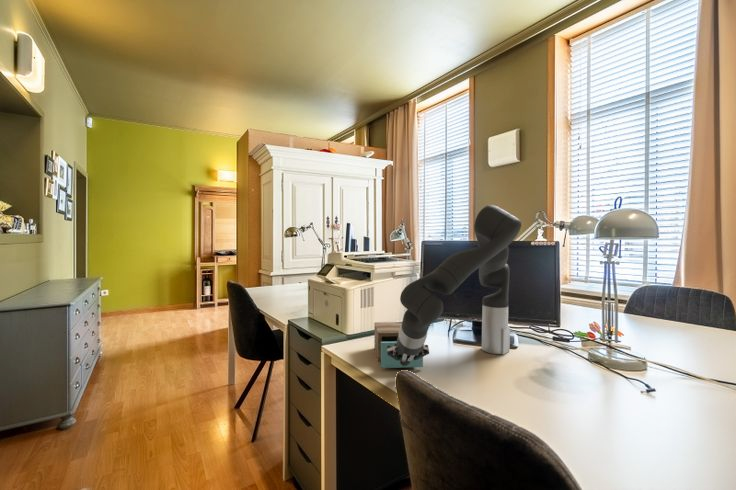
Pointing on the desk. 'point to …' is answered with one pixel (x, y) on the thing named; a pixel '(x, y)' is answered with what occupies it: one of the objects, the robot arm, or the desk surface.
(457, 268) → the robot arm
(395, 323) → the drawer box
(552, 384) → the desk surface
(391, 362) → the teal pull-out drawer
